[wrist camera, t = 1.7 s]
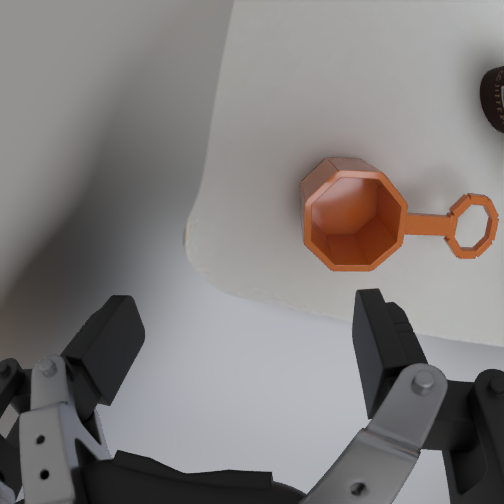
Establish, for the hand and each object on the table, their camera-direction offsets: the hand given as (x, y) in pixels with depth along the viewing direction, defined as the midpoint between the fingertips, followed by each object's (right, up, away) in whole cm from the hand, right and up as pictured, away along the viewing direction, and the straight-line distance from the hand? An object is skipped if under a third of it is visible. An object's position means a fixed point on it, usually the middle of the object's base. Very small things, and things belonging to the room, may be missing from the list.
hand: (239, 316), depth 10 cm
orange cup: (+12, +7, +13) cm, 19 cm away
